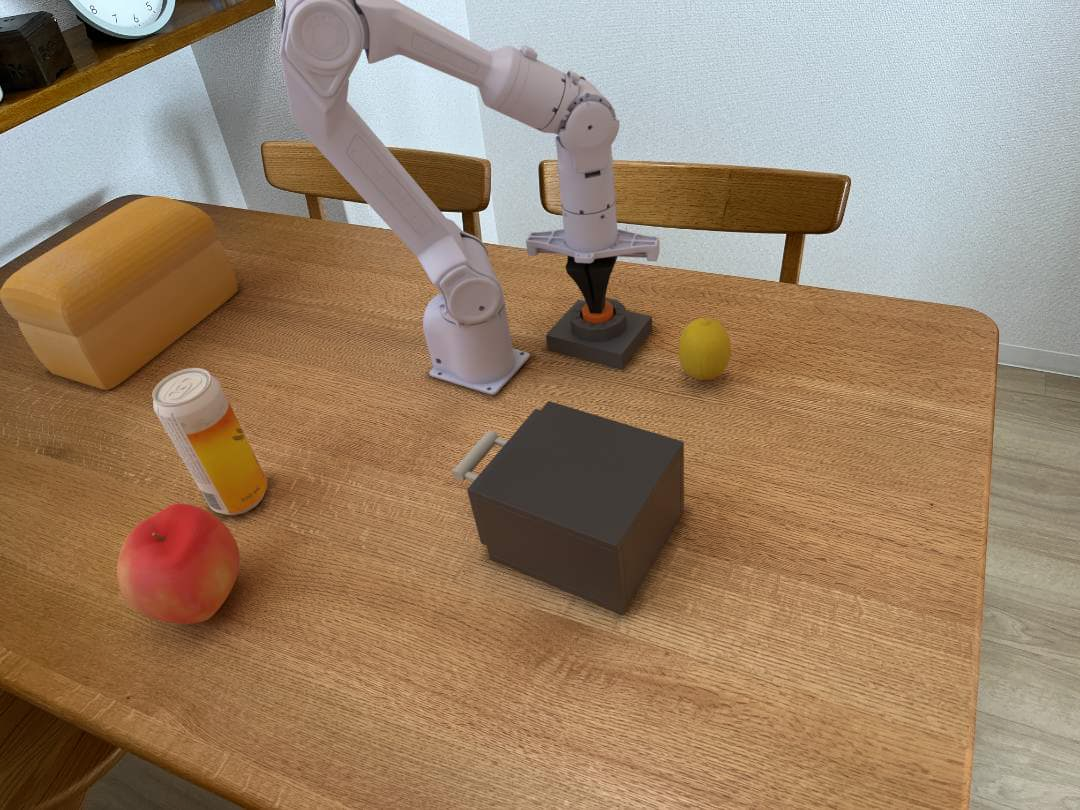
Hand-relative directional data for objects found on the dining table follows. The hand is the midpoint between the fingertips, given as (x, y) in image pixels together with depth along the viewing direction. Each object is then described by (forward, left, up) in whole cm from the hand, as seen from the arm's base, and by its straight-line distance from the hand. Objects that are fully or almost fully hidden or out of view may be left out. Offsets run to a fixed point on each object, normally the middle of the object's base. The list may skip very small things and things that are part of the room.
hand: (597, 308), depth 94 cm
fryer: (+13, -27, -4) cm, 30 cm away
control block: (0, 0, -5) cm, 5 cm away
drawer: (+9, -27, -4) cm, 29 cm away
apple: (-15, -49, -5) cm, 51 cm away
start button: (0, 0, -2) cm, 2 cm away
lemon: (+14, -2, -5) cm, 15 cm away
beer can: (-22, -38, -5) cm, 44 cm away
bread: (-59, -21, -5) cm, 63 cm away
